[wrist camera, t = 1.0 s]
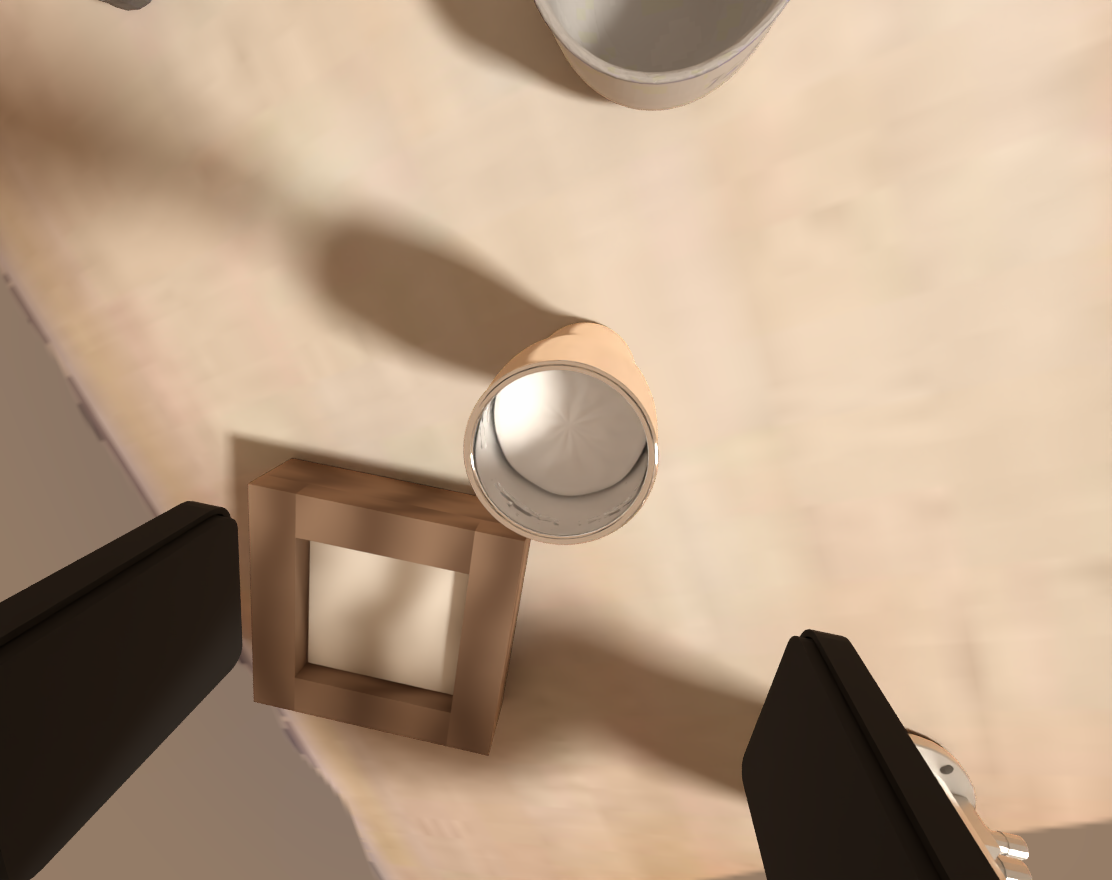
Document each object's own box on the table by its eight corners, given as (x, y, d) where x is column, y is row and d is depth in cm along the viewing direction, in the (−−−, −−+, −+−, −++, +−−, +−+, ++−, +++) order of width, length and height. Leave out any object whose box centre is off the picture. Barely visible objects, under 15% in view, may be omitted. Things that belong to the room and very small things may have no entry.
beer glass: (537, 434, 33) (478, 558, 19) (519, 323, 31) (436, 368, 17) (648, 421, 32) (674, 543, 18) (636, 306, 30) (654, 339, 16)
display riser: (536, 508, 35) (525, 541, 30) (502, 704, 40) (488, 755, 36) (292, 458, 35) (248, 483, 31) (291, 656, 41) (253, 701, 37)
